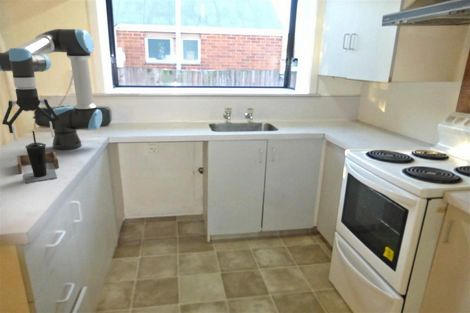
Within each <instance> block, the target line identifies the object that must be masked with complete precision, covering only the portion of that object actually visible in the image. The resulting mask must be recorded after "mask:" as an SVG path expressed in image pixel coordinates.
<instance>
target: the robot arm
mask: <svg viewBox="0 0 470 313" xmlns="http://www.w3.org/2000/svg"><path fill="white" fill-rule="evenodd" d="M94 48H95V46H94V40H93V38H92V36H91V35H90V33H89V32H88V31H87V30H86V29H81V28H80V29H79V28H77V29H75V28H72V29H69V28H62V29H61V28H57V29H56V28H55V29H51V30H48V31H45V32H43V33H39V34H38V35H37V36H35V38H34V39H32V40H29V41H27V42H26V43H23V44H21V45H19V46H16V47H13V48H12V47H11V48H9V49H8V50H7V51H4V52H0V72H12V79H13V85H14V88H16V89H15V95H16V100H15V101H13V100H8V107H7V109H6V112H5V115H4V117H3V120H2V125H4V126H5V125H6V126H7V127H8V131H9V133H10V134H13V139H14V142H17V141H18V140H17V139H18V138H17V133H16V127H15V121H16V119H18V117H19V116H20V114H21V113H22V112H23V111H24V112H34V111H36V110H37V111H38V112H39V113H40V114H41V115H42V116H44V117H46V118H47V119H48V120H49V129H50V134H51V138H53V140H52V149H54V150H56V151H57V150H58V151H67V150H75V149H77V148H78V149H79V148H81V147H82V141H81V139H80V137H79V135H78V132H77V131H78V130H81V131H85V130H88V131H93V130H94V131H95V130H98V129H99V128H100V127H101V125H102V121H103V113H102V110H101V109H98V106H97V105H96V104H95V103H94V97H93V94H94V93H93V88H92V81H91V80H92V79H91V72H90V65H89V58H91V54H92V53H93V52H94V50H95V49H94ZM52 53H66V57H67V58H68V59H69V60H70V66H71V71H72V79H73V85H74V92H75V100H76V105H75V106H72V105H69V106H63V107H56V108H52V107H51V106H50V104H49V102H48V99H47V98H44V99H39V93H38V89H37V81H36V76H35V73H37V72H39V73H40V72H41V73H42V72H46V71H48V70H49V69H50V68H51V65H52V62H51V59H50V57H49V56H47V55H48V54H52ZM46 54H47V55H46ZM40 104H42V105H44V106H45V107H46V108H47V109H48V110H49V112H50V114H51V115H49V114H48V113H47V112H46V111H45V110H44V109H43V108H41V107H40ZM15 105H17V106H18V107H19V108H18V109H17V110H16V111H15V113H14V114H13V116H12V117H11V118H10V115H11V112H12V109H13V107H15ZM9 118H10V120H9V121H8V119H9Z"/></svg>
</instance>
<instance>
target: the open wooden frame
mask: <svg viewBox="0 0 470 313" xmlns="http://www.w3.org/2000/svg"><path fill="white" fill-rule="evenodd" d="M47 162H48V163H49V162H54V164H55V168H56V169H59V168H60V165H59V160H58V156H57V153H56V151H48V152H47V151H46V163H47ZM16 163H17V169H18V174H20V175H21V174H22V173H23V171H22V170H23V168H22V165H25V166H26V165H29V164H30V165H31V163H30V160H29V156H28V154H22V155H21V154H19V155H17V162H16Z"/></svg>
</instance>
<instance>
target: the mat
mask: <svg viewBox="0 0 470 313" xmlns="http://www.w3.org/2000/svg"><path fill="white" fill-rule="evenodd" d="M46 170H47V175H46V176H43V177H34V174H33V172H28V173H24V176H23V178H24V184H25V183H26V184H31V183H30V182H32V183H36V182H35V181H39V182H42V181H41V180H45V181H48V180H47V179H51V180H54V179H53V178H57V179H58V175H57V174H56V170H55V169H54V168H53V169H46Z"/></svg>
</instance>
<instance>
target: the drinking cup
mask: <svg viewBox="0 0 470 313" xmlns="http://www.w3.org/2000/svg"><path fill="white" fill-rule="evenodd" d="M32 137H33V142H30V143H29V144H27V145H26V146H24V147H25V148H24V149H26V152H27V155H28V156H29V160H30V163H31V164H30V166H31V170H32V173H33V174H34V177H43V176H46V175H47V170H48V169H47V162H46V152H47V150H46V147H47V146H46V145H47V144H46V143H42V142H38V141H36V133H35V130H32Z"/></svg>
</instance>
